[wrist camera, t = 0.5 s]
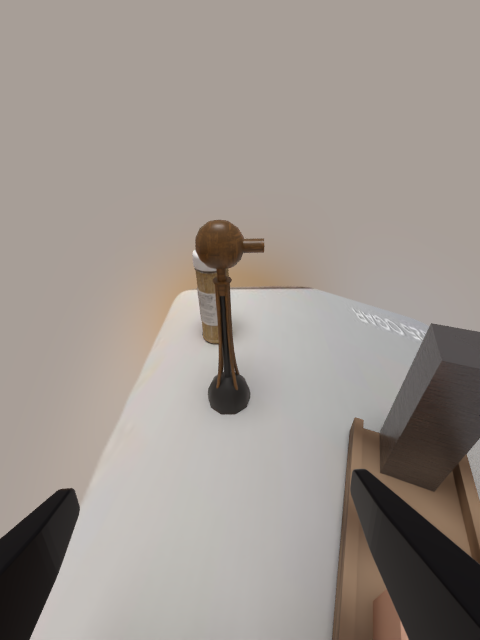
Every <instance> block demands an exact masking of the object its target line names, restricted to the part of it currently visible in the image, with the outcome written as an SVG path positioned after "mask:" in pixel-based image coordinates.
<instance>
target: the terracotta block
mask: <svg viewBox="0 0 480 640" xmlns="http://www.w3.org/2000/svg"><path fill="white" fill-rule="evenodd" d="M373 640H409V639H408V636H407V634H406V632H405V630H404V627H403V625H402V623H401V620H400V618H399V616H398V614H397V611H396V609H395V607H394V604H393V602H392V600H391V598H390V595H389V593H388V591H387V589H386V590H385V591H384V592H383V593H381V594H380V595H379V596H378V597H377V598H376V599H375V600H374V601H373Z"/></svg>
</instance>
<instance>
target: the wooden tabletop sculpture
mask: <svg viewBox="0 0 480 640" xmlns="http://www.w3.org/2000/svg"><path fill="white" fill-rule="evenodd" d="M263 252H264V239H244V237H243V235H242V234H241V232H240V230H239V229H238V228H237V227H236V226H234V225H233V224H231V223H230V222H229V221H226V220H214V221H209V222H207V223H206V224H205V225H204V226H202V227H201V228H200V229H199V231H198V234H197V236H196V253H197V255H198V257H199V259H200V260H201V261H202V262H203V263H204V264H205V265H206V266H207V267H209V268H213V269H216V271H217V277H215V278H214V279H213V280H212V281H213V283H214V284H215V296H216V308H217V321H218V338H219V366H218V375H217V376H215V377H214V379H213V381H212V383H211V385H210V387H209V389H208V398H209V401H210V405H211V408H213V409H214V410H216V411H217V412H219V413H220V414H236V413H238V412H239V411H241V410H243V409H244V408H246V407H247V404H248V401H249V399H250V391H249V388H248V385H247V383H246V381H245V379H244V377H243V376H241V375H240V374H239V371H238V368H237V364H236V359H235V353H234V345H233V336H232V321H231V301H230V282H231V278H230V277H228V276H226V269H227V268H231V267H233V266H235V265H236V264H237V262H239V261H240V260H241V257H242V254H243V253H263ZM223 366H224V372H223ZM234 368H235V370H234ZM235 372H236V373H235Z"/></svg>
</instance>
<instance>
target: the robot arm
mask: <svg viewBox="0 0 480 640" xmlns="http://www.w3.org/2000/svg"><path fill="white" fill-rule="evenodd" d="M350 492H351V496H352V499H353V502H354V505H355V508H356V511H357V514H358V517H359V520H360V523H361V526H362V529H363V532H364V535H365V538H366V541H367V543H368V546H369V549H370V552H371V554H372V556H373V559H374V561H375V563H376V566H377V568H378V570H379V573H380V575H381V577H382V579H383V582H384V584H385V586H386V588H387V591H388V593H389V595H390V598H391V600H392V602H393V604H394V607H395V609H396V611H397V614H398V616H399V618H400V620H401V623H402V625H403V627H404V630H405V632H406V634H407V636H408V639H409V640H480V564H479V563H478V562H477V561H475V560H474V559H473V558H472V557H471V556H470V555H468V554H467V553H466V552H465V551H464V550H462V549H461V548H460V547H459V546H458V545H456V544H455V543H454V542H453V541H452V540H450V539H449V538H448V537H447V536H446V535H444V534H443V533H442V532H441V531H440V530H438V529H437V528H436V527H435V526H434V525H433V524H431V523H430V522H429V521H428V520H427V519H425V518H424V517H423V516H422V515H421V514H419V513H418V512H417V511H416V510H415V509H413V508H412V507H411V506H410V505H409V504H407V503H406V502H405V501H404V500H403V499H401V498H400V497H399V496H398V495H397V494H396V493H394V492H393V491H392V490H391V489H390V488H388V487H387V486H386V485H385V484H384V483H382V482H381V481H380V480H379V479H378V478H376V477H375V476H374V475H373V474H372V473H370V472H369V471H368V470H366V469H354V470H353V471H352V477H351V485H350ZM79 511H80V507H79V503H78V499H77V496H76V493H75V490H74V489H72V488H70V489H69V488H68V489H60V490H58V491H56V492H55V493H54V494H53V495H52V496H50V497H49V498H48V499H47V500H46V501H45V502H43V503H42V504H41V505H40V506H39V507H37V508H36V509H35V510H34V511H33V512H32V513H30V514H29V515H28V516H27V517H26V518H24V519H23V520H22V521H21V522H20V523H19V524H17V525H16V526H15V527H14V528H13V529H11V530H10V531H9V532H8V533H7V534H6V535H5V536H3V537H2V538H1V539H0V640H29V639H30V637H31V635H32V633H33V630H34V628H35V626H36V624H37V621H38V619H39V617H40V614H41V612H42V610H43V608H44V605H45V603H46V601H47V599H48V596H49V594H50V592H51V589H52V587H53V585H54V583H55V580H56V578H57V575H58V573H59V570H60V567H61V565H62V562H63V559H64V556H65V553H66V550H67V547H68V545H69V542H70V539H71V536H72V533H73V530H74V527H75V524H76V522H77V519H78V516H79Z"/></svg>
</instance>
